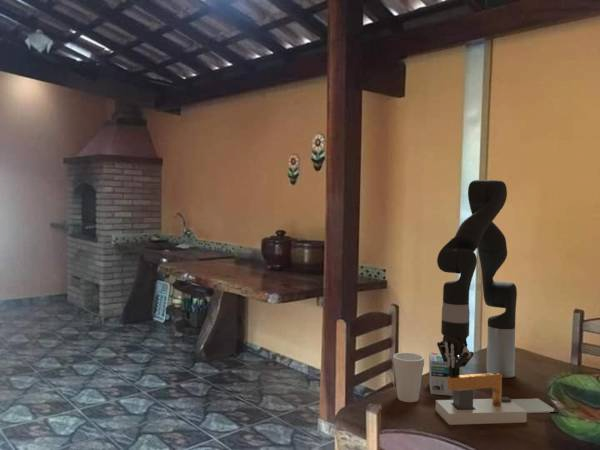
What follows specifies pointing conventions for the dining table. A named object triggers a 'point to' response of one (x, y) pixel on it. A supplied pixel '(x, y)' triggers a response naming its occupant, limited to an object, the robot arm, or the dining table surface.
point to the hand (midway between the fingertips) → (453, 379)
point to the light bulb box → (438, 375)
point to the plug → (463, 399)
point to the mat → (533, 405)
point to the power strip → (482, 412)
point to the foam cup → (408, 375)
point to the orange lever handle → (478, 384)
